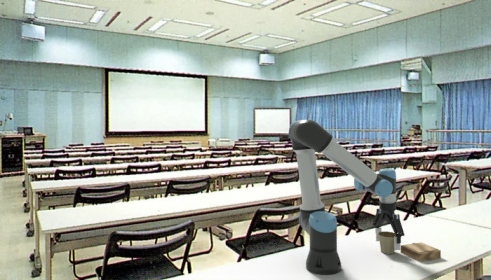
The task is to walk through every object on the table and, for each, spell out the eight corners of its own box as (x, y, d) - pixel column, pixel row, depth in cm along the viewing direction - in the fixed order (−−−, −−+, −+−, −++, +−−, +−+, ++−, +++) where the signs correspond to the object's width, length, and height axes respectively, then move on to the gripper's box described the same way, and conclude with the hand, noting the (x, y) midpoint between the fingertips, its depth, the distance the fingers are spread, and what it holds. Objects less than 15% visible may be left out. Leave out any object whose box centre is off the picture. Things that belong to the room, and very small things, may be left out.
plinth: (419, 261, 170) (419, 253, 169) (400, 252, 181) (400, 244, 181) (440, 257, 173) (440, 249, 173) (421, 249, 185) (421, 241, 184)
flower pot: (400, 255, 177) (400, 237, 176) (378, 254, 179) (378, 236, 178) (396, 249, 186) (396, 231, 186) (376, 248, 188) (376, 231, 187)
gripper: (412, 206, 170) (412, 252, 171) (377, 195, 194) (377, 236, 195) (399, 208, 168) (399, 254, 169) (365, 197, 192) (365, 238, 193)
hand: (387, 245), depth 182 cm, fingers open, 13 cm apart
